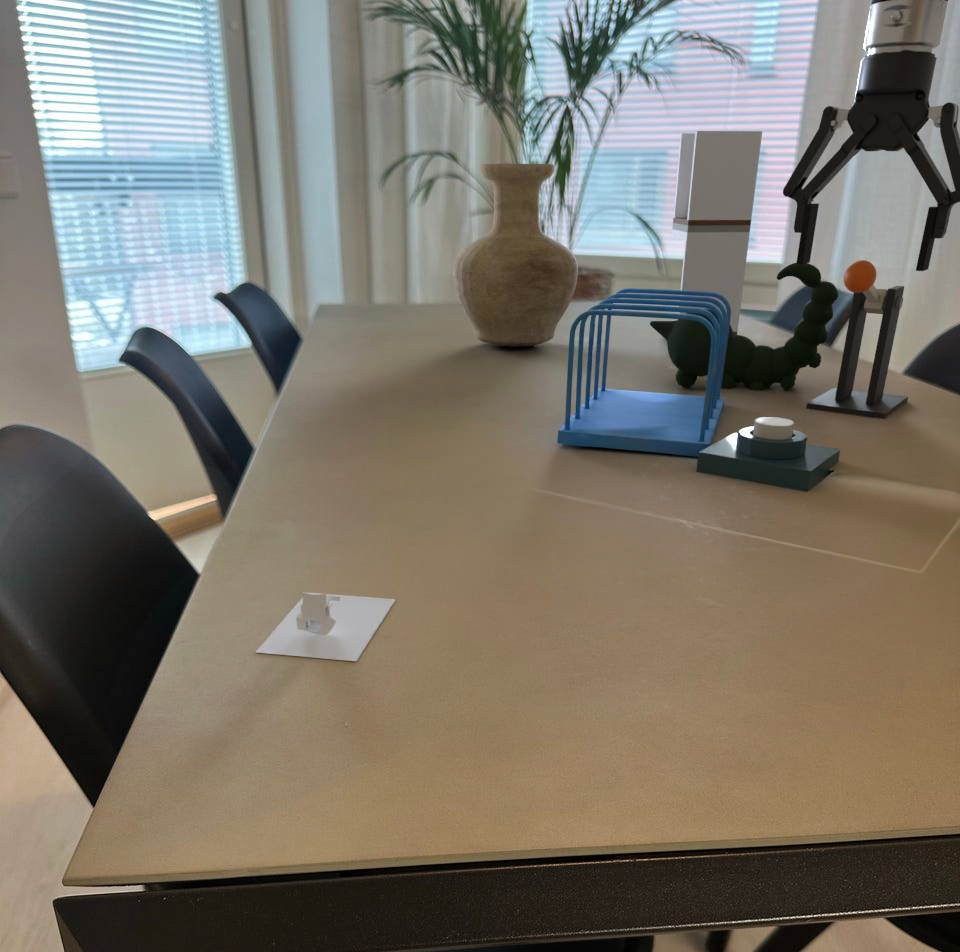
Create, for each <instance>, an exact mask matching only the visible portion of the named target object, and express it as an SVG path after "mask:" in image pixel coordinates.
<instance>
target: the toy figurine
mask: <svg viewBox="0 0 960 952" xmlns="http://www.w3.org/2000/svg"><path fill="white" fill-rule="evenodd" d="M787 277H793V278H796V279H798V280H799V281H800V282H801V283H802V284H803V285H804V286H805V287H807V288H812V290H811V291H810V296H809V297H810V300H809V301H808V302H806V304H805V305H804V307H803V309H802V319H801V320H800V321H798V323H797V324H796V325H795V327H794V330H793V336H791V337H790V338H788V339H787V340H786V342H785V343H784V345H783V346H778V347H775V348H774V347H772V346H770V345H764V344H759V345H756V344H755V343H754V342H753V341H752V339H750V338H749V337H748V336H744V335H742V334H741V335H740V334H737V335H734V333H733V330H732V327H731V325H730V327H729V334H728V342H727V349H726V356H725V363H724V370H723V377H722V384H721V389H724V390H725V389H727V390H730V389H732V388H733V387H734V386H735V385H736V384H740V383H742V384H743V385H745V386H746V387H748V389H749V390H750V391H755V392H761V391H764V389H766V388H769V387H771V386H773V385H774V384H780V387H781V388H782V389H783V390H785V391H787V390H791V389H793V387H794V386H795V385H796V380H797V375H798V373H799V372H800V370H801V369H804V368H807V367H809V368H812V369H816V368H818V367H820V365H821V363H822V355H821V353H820V352H818V347H819V345H822V344H824V343H826V342H827V340H828V331H827V328H826V325H827V324H828V323H829V322H830V321H832V319H833V318H834V309H833V304H834V303H835V302H836V300H838V298H839V291H838V289H837V287H836V285H835V284H834V283H832V282H830V281H821V280H822V274H821V271H820V269H819V268H818V267H816V266H815V265H813V264H811V263H810V262H809V263H805V264H796V262H792V263H791V264H789V265H786V266H785V267H784V268H782V269H781V270H780V271H779V272H778V273H777V275H776V280H777V281H780V280H782V279H785V278H787ZM705 310H707V311H709V312H710V313H712V314H713V315H714V316H715V318H716V319H717V321H718V323H719V319H718V317H717V315H716V314H715V313H714V312H713V311H712V310H709V309H705ZM686 314H691V315H698V316H701V317H703V318H705V319H706V320H708V321H709V322H710V323H711V325H712V326H713V328H714V330H715V327H714V324H713V323H712V321H711V320H710V319H709V318H708V317H707V316H705V315H702V314H698V313H686ZM649 326H650V327H651V328H652V329H654V331H656V332H657V333H658V334H659V335H660V336H661V337H662V338H664V339H665V341H666V342H667V345H666V346H667V353H668V356H669V358H670V361H671V363H672V364H673V366H674V367H675V368H676V369H677V371H676V373H675V382H676V383H677V384H678V386H680V387H683V388H690V387H692V386H694V385H695V384H696V383H697V380H698V377H702V378H703V377H707V376H708V368H709V359H710V350H711V335H710V331H709V330H708V328H707V327H706V326H705V325H704V324H702V323H701V322H698V321H695V320H682V319H675V320H651V321H650V322H649Z"/></svg>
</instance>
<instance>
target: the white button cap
mask: <svg viewBox="0 0 960 952" xmlns="http://www.w3.org/2000/svg"><path fill="white" fill-rule="evenodd" d="M754 419H755V420H754V423H753V426H754V429H753V436H756V437H758V438H765V439H773V440H785V439H792V433H793V429H794V426H795V422H794V420H791V419H790V418H789V419H788V418H784V417H778V416H762V417H757V418H754Z"/></svg>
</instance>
